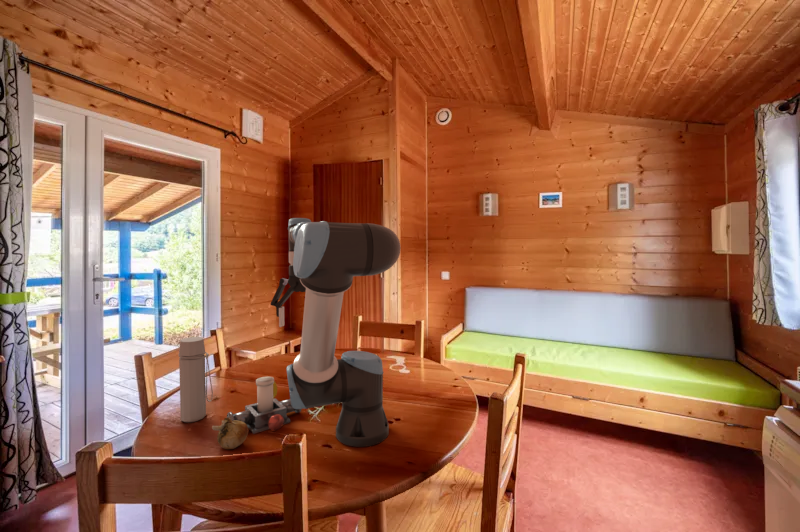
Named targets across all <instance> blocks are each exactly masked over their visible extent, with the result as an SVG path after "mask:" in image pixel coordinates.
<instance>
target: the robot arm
mask: <svg viewBox="0 0 800 532" xmlns="http://www.w3.org/2000/svg"><path fill="white" fill-rule="evenodd" d="M287 230H288V263H289V266H288V279H287V278H286V277H282V278H280V279H279V285H278V287H277V289H276V291H275V292H274V293H275V294H274V296H272V297H273V298H272V299H271V302H270V306H273V307H275V308H276V309H275V310H276V313H275V314H276V317H277V318H278V327H279V328H282V327H284V326H285V306H283V305H284V304H285V303H286V301H288V299H289V298H290V297H291V296H292V294H293V293H294V292H295V293H299V292H300V293H305V296H304V306H303V317H302V318H303V319H302V329H301V339H300V340H301V341H300V343H301V344H300V353H299V354H297V355H296V357H295V358H294V359H293V360H294V361H293V363H291V364H289V365H287V366H286V369H285V370H286V375H287V383H288V390H289V399H290V400H291V406H292V407H293V408H294V409H301V410H302V409H303V410H305V409H306V410H308V409H311V408H316V407H317V408H318V407H321V406H322V407H323V406H329V405H333V404H341V411H340V414H339V416H338V420H337V423H336V426H335V437H336V439H337V440H338V441H339V442H340V443H342V444H343V445H346V446H349V447H354V448H355V447H357V448H358V447H359V448H360V447H361V448H363V447H370V446H374V445H377V444H380V443H382V442H384V440H386V439H387V438H388V436H389V434H390V433H389V429H390V428H389V422H388V418H387V416H386V413H385V409H384V405H383V404H384V403H383V402H384V400H383V399H384V398H383V397H384V396H383V394H384V393H383V392H384V390H383V389H384V388H383V387H384V386H383V385H384V384H383V383H384V379H383V378H384V368H383V360H382V358H381V357H380V356H379V355H377V354H375V353H372V352H369V351H361V350H347V351H344V352H343V353H342V354H341V356H340V358H337V357H336V356H335V352H336V345H337V341H338V334H339V326H340V320H341V314H342V306H343V300H344V294H345V292H346V291H348V290H349V289H351V287H352V285H353V280H354V277H367V276H376V275H379V274H382V273H384V272H386V271H388V270H390V269H391V268H392V267H393V266H394V265H395V264H396V262H398V260H399V258H400V254H401V247H402V246H401V243H400V239H399V237H398V235H397V233H395V232H394V231H393V230H392V229H390V228H388V227H387V226H384V225H381V224H375V223H368V222H367V223H366V222H364V223H360V222H358V223H356V222H353V223H352V222H331V221H329V222H328V221H325V220H322V221H321V220H320V221H312V220H311V219H310V218H307V217H292V218H290V219H288V227H287ZM286 285H289V288H288V289H287V290H286V292H285V293H284V295H282V293H283V292H284V290H285V287H286ZM281 296H282V297H281Z"/></svg>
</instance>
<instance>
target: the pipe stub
mask: <svg viewBox="0 0 800 532" xmlns="http://www.w3.org/2000/svg"><path fill="white" fill-rule="evenodd" d="M274 381H275V378H274V377H273V376H262V377H258V378H257V379H255V386H256V397H257V398H256V399H257V400H256V403H257V412H258V414H259V413H263V412H267V411H270V410H273V399H274V398H273V383H274Z"/></svg>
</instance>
